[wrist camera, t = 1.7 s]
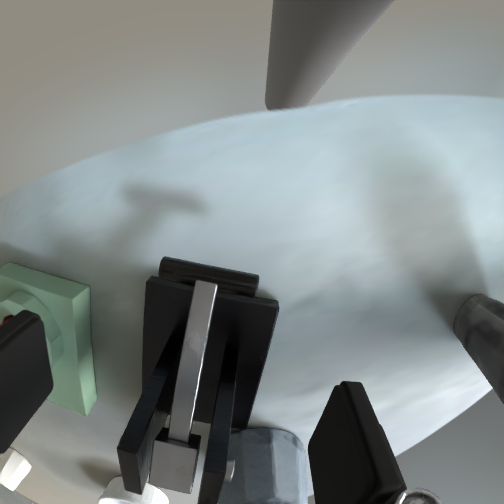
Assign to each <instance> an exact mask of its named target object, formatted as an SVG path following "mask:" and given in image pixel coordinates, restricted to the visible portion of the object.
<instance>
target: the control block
mask: <svg viewBox="0 0 504 504" xmlns="http://www.w3.org/2000/svg"><path fill="white" fill-rule="evenodd" d="M24 309H25V310H29V311H31V312H34V313H36V314H38V315H40V317H41V320H42V321H43V322H44V328H45V335H46V343H47V349H48V355H49V361H50V367H51V372H52V377H53V382H54V386H53V390H52V392H51V393H50V395H49V396H48V397H47V398H46V399H47V400H49V401H51V402H53V403H55V404H58V405H60V406H62V407H65V408H67V409H69V410H72V411H74V412H77V413H79V414H82V415H84V416H87V415H88V413H89V412H90V410H91V408H92V407H93V405H94V403H95V402H96V400H97V393H96V385H95V376H94V366H93V355H92V342H91V324H90V286H88V285H84V284H81V283H77V282H73V281H70V280H66V279H63V278H60V277H56V276H53V275H50V274H46V273H43V272H40V271H37V270H33V269H30V268H27V267H24V266H21V265H18V264H15V263H12V262H9V263H7V264H5V265H3V266H1V267H0V325H1V324H3V323H4V322H5V321H7V320H8V319H9V318H12V317H14V316H15V315H16V314H18V313H19V312H21V311H22V310H24Z"/></svg>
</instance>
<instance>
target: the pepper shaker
mask: <svg viewBox="0 0 504 504" xmlns="http://www.w3.org/2000/svg"><path fill="white" fill-rule="evenodd" d="M30 469H31V465H30V464H29V462H28V461H27V460H26V459H25V457H23V456H22V455H21V454H19V453H18V452H17V451H16V450H14V449H11V448H8V449H7V451H6V452H5V453H3V455H2V457H1V459H0V483H1V484H2V485H4V486H5V487H7V488H9V489H10V490H12V491H13V490H14V489H15V488H16V487H17V486H18V485H19V483H20V482H21V481H22V480H23V478H24V477H25V476H26V475H27V474H28V472H29V471H30Z"/></svg>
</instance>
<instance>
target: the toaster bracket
mask: <svg viewBox="0 0 504 504" xmlns="http://www.w3.org/2000/svg"><path fill="white" fill-rule="evenodd" d="M193 291H194V286H190V285H185V284H180V283H175V282H171V281H166V280H162V279H160V278H159V277H155V276H151V277H150V278H149V279H148V280H147V281H146V291H145V306H144V326H143V357H142V394H141V397H140V399H139V401H138V403H137V405H136V407H135V409H134V411H133V414H132V416H131V418H130V420H129V422H128V424H127V427H126V429H125V431H124V433H123V435H122V437H121V438H120V441H119V444H118V446H117V452H118V458H119V464H120V469H121V474H122V479H123V484H124V488H125V490H126V491H129V492H132V493H135V494H139V495H142V493H143V490H144V487H145V484H146V481H147V477H148V474H149V471H150V465H151V456H152V449H153V441H154V439H155V438H156V436H157V435H158V434H159V432H160V431H161V429H162V428H163V427H164V426H165V423H166V420H167V417H168V415H171V410H172V404H173V398H174V392H175V386H176V380H177V375H178V369H179V363H180V358H181V352H182V347H183V342H184V336H185V331H186V326H187V321H188V316H189V311H190V306H191V301H192V296H193ZM278 312H279V302H278V301H275V300H269V299H264V298H258V297H255V298H250V297H245V296H240V295H234V294H229V293H224V292H219V291H217V296H216V301H215V306H214V311H213V316H212V321H211V326H210V331H209V337H208V342H207V347H206V353H205V358H204V363H203V369H202V374H201V380H200V385H199V391H198V397H197V402H196V408H195V414H194V421H199V422H204V423H209V424H211V428H210V433H209V439H208V445H207V450H206V456H205V462H204V468H203V473H202V479H201V485H200V491H199V497H198V503H197V504H217V503H218V500H219V496H220V493H221V490H222V486H223V483H224V481H225V482H231V480H232V477H233V472H234V463H235V461H234V459H232V458H228V451H229V441H230V432H231V428H238V429H244V430H246V428H247V425H248V421H249V418H250V415H251V411H252V408H253V404H254V401H255V397H256V394H257V390H258V387H259V383H260V380H261V376H262V372H263V369H264V365H265V361H266V358H267V354H268V350H269V347H270V343H271V339H272V335H273V331H274V328H275V324H276V320H277V316H278Z"/></svg>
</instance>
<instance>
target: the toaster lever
mask: <svg viewBox="0 0 504 504" xmlns="http://www.w3.org/2000/svg"><path fill="white" fill-rule="evenodd" d="M159 278H160V279H162V280H166V281H171V282H175V283H180V284H185V285H190V286H194V291H193V296H192V301H191V306H190V311H189V316H188V321H187V326H186V331H185V336H184V342H183V347H182V352H181V358H180V363H179V369H178V375H177V380H176V386H175V392H174V398H173V404H172V410H171V416H170V423H169V428H165V427H163V428H162V429H161V431H160V432H159V434H158V435H157V436H156V438H155V439H154V441H153V449H152V456H151V465H150V473H149V482H148V483H149V484H150V485H154V486H157V487H161V488H165V489H169V490H174V491H178V492H183V493H187V494H191V491H192V487H193V482H194V478H195V472H196V466H197V460H198V455H199V449H200V443H201V435H196V434H191V431H192V426H193V420H194V414H195V408H196V402H197V397H198V391H199V385H200V380H201V374H202V369H203V363H204V358H205V353H206V347H207V342H208V337H209V331H210V326H211V321H212V316H213V311H214V306H215V301H216V296H217V291H219V292H224V293H229V294H234V295H240V296H245V297H250V298H255V297H256V294H257V289H258V284H259V275H256V274H251V273H246V272H241V271H236V270H230V269H225V268H220V267H215V266H210V265H205V264H200V263H195V262H190V261H185V260H180V259H175V258H171V257H166V256H165V257H163V258H162V260H161V262H160V266H159Z"/></svg>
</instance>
